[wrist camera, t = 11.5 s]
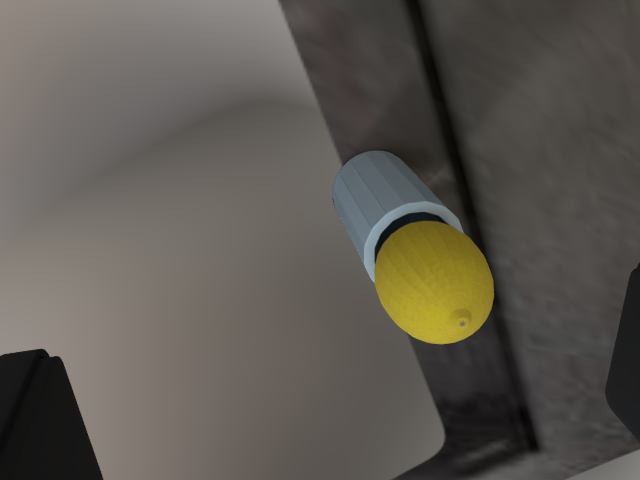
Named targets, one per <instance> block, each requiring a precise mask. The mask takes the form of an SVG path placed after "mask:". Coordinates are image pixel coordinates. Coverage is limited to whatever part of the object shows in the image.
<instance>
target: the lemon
mask: <svg viewBox="0 0 640 480" xmlns="http://www.w3.org/2000/svg"><path fill="white" fill-rule="evenodd" d="M374 272H375V286H376V290H377V293H378V295H379V298H380V301H381V303H382V305H383V307H384V309H385V310H386V311H387V313H388V314H389V315H390V317H391V318H392V319H393V321H394V322H395V323H396V324H397V325H398V326H399V327H401V328H402V329H403V330H404V331H406V332H407V333H408V334H410V335H411V336H413V337H415V338H417V339H419V340H422V341H425V342H428V343H434V344H447V343H454V342H457V341H460V340H463V339H465V338H466V337H468V336H470V335H472V334H473V333H474V332H475V331H476V330H478V329H479V328H480V327H481V325H482V324H483V323H484V322H485V320H486V319H487V317H488V315H489V313H490V311H491V308H492V303H493V298H494V286H493V278H492V275H491V272H490V269H489V267H488V264H487V262H486V260H485V257H484V256H483V254H482V253H481V251H480V250H479V249H478V247H477V246H476V245H475V244H474V243H473V241H472V240H471V239H470V238H469V237H468V236H466V235H465V234H463V233H462V232H460V231H459V230H457V229H456V228H454V227H452V226H450V225H447V224H444V223H440V222H437V221H419V222H414V223H410V224H408V225H405V226H403V227H401V228H399V229H398V230H397V231H395V232H394V233H392V234H391V235H390V236H389V238H388V239H387V240H386V241H385V242H384V243H383V245H382V247H381V249H380V251H379V253H378V255H377V259H376V263H375V269H374Z"/></svg>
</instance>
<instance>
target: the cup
mask: <svg viewBox="0 0 640 480" xmlns="http://www.w3.org/2000/svg"><path fill="white" fill-rule="evenodd" d="M332 196H333V202H334V206H335V208H336V210H337V212H338V214H339V216H340V218H341V220H342V222H343V224H344V226H345V228H346V230H347V232H348V234H349V236H350V238H351V240H352V242H353V244H354V246H355V248H356V250H357V252H358V254H359V256H360V258H361V260H362V262H363V264H364V266H365V268H366V270H367V272H368V274H369V276H370V278H371V280H372V281H373V282H374V283H375V272H374V269H375V263H376V259H377V255H378V253H379V251H380V249H381V247H382V245H383V243H384V242H385V241H386V240H387V239H388V238H389V236H390V235H391V234H392V233H394V232H395V231H397V230H398V229H399V228H401V227H403V226H405V225H408V224H410V223H414V222H419V221H437V222H440V223H444V224H447V225H450V226H452V227H454V228H456V229H457V230H459V231H460V232H462V233H463V234H464V232H463V229H462V227H461V224H460V222H459V219H458V218H457V217H456V215H455V214H454V213H453V212H452V211H451V210H450V209H449V208H448V207H447V206H446V205H445V204H444V203H443V202H442V201H441V200H440V199H439V198H438V197H437V196H436V194H435V193H434V192H433V191H432V190H431V189H430V188H429V187H428V186H427V185H426V184H425V183H424V182H423V181H422V180H421V179H420V178H419V177H418V176H417V175H416V173H415V172H414V171H413V170H412V169H411V168H410V167H409V166H408V165H407V164H405V163H404V162H403V161H402V160H401V159H400V158H399V157H398V156H396V155H394V154H392V153H389V152H385V151H368V152H364V153H361V154H359V155H357V156H355V157H353V158H352V159H350V160H349V161H348V162H347V163H346V164H345V165H344V166H343V167H342V168H341V169H340V171H339V172H338V174H337V176H336V178H335V181H334V185H333V191H332Z"/></svg>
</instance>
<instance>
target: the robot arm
mask: <svg viewBox="0 0 640 480" xmlns="http://www.w3.org/2000/svg"><path fill="white" fill-rule="evenodd" d="M605 393H606V399H607V402H608V404H609V406H610V408H611V409H612V411H613V412H614V413H615V414H616V416H617V417H618V418H619V419H620V420H621V421H622V422H623V424H624V425H625V426H626V427H627V428H628V429H629V430H630V432H631V433H632V434H633V435H634V436H635V437H636V439H637V440H638V441H639V442H640V263H639V264H638V267H637V268H636V269H634V270H633V271H632V272H631V275H630V277H629V282H628V287H627V291H626V296H625V301H624V305H623V310H622V315H621V319H620V324H619V328H618V333H617V338H616V342H615V347H614V352H613V356H612V361H611V366H610V370H609V375H608V380H607V384H606V391H605ZM0 480H103V477H102V474H101V471H100V468H99V465H98V462H97V459H96V456H95V454H94V451H93V448H92V445H91V442H90V439H89V436H88V433H87V431H86V428H85V425H84V422H83V419H82V416H81V413H80V410H79V407H78V404H77V401H76V399H75V396H74V393H73V390H72V387H71V384H70V381H69V378H68V376H67V373H66V369H65V367H64V364H63V362H62V360H61V358H60V357H58V356H54V357H50V356H49V354H48V353H47V352H46V351H45V350H44V349H36V350H29V351H23V352H16V353H10V354H4V355H2V356H0Z"/></svg>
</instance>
